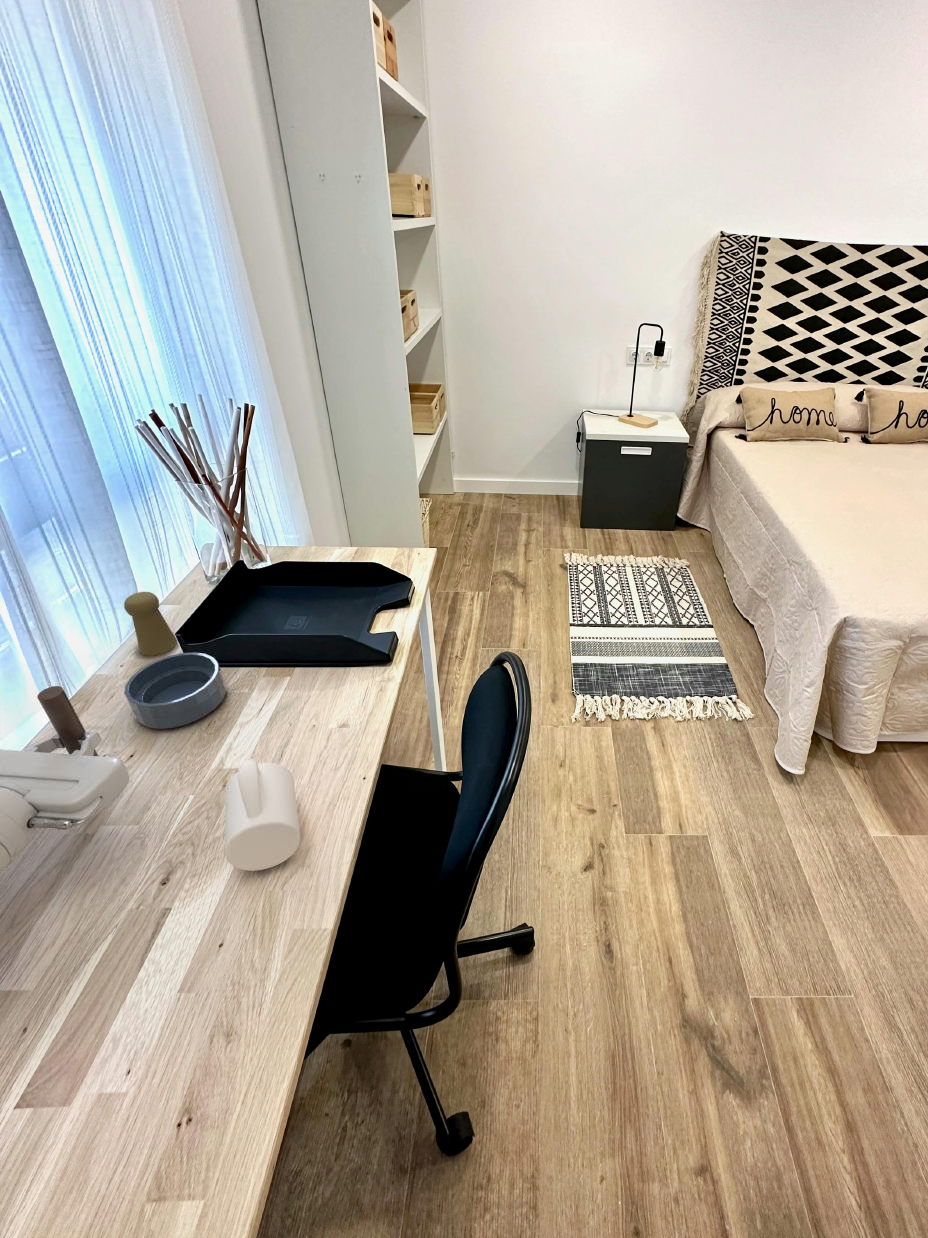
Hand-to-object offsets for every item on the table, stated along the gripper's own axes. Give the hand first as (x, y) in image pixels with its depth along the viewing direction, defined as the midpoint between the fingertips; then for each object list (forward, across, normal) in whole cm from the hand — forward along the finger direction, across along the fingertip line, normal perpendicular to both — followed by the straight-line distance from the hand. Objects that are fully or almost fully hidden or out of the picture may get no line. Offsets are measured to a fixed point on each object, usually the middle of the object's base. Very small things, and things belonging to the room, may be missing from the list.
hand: (80, 734), depth 80 cm
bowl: (+18, 0, +10) cm, 20 cm away
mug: (-6, -26, +10) cm, 28 cm away
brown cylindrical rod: (-1, 0, +10) cm, 10 cm away
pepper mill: (+32, +13, +11) cm, 36 cm away
